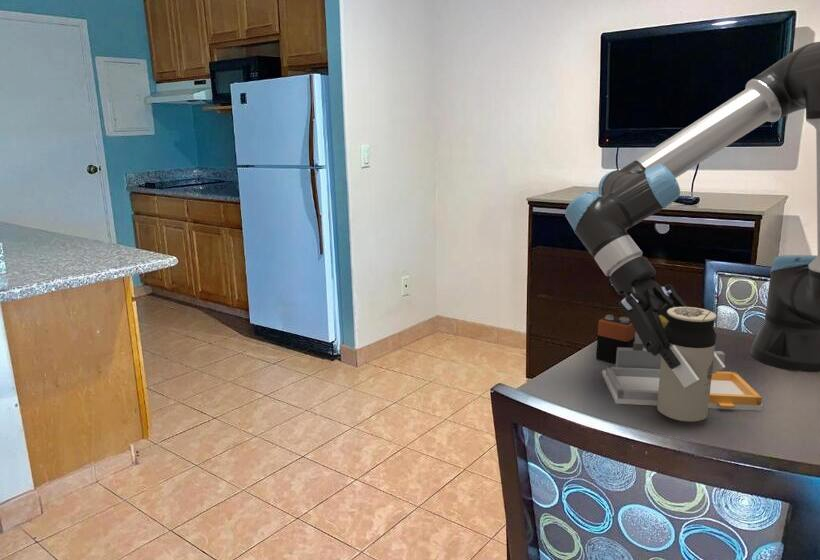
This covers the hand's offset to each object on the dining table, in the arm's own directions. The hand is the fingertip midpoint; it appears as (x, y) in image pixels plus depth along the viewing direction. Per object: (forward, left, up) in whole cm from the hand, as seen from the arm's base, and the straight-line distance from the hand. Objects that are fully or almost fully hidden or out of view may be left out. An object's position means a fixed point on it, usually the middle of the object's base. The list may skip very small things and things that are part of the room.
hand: (705, 377), depth 99 cm
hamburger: (-5, -36, -9) cm, 38 cm away
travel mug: (+2, -2, -8) cm, 8 cm away
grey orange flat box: (0, -14, -9) cm, 16 cm away
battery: (+8, -29, -9) cm, 32 cm away
